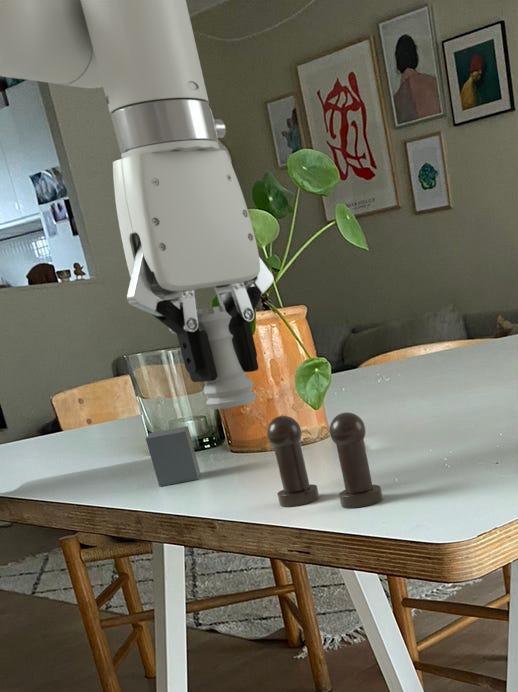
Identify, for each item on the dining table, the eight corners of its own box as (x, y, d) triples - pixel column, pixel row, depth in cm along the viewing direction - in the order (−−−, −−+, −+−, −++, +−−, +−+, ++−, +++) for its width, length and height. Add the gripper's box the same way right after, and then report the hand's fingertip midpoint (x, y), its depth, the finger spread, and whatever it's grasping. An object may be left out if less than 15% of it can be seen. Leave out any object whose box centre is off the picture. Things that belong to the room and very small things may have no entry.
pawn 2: (338, 510, 74) (318, 419, 71) (345, 499, 77) (326, 412, 74) (379, 504, 74) (362, 413, 71) (385, 494, 77) (368, 406, 74)
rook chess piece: (242, 406, 78) (218, 306, 75) (196, 412, 79) (171, 314, 76) (267, 397, 82) (245, 301, 79) (223, 402, 83) (200, 308, 80)
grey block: (159, 486, 96) (145, 438, 94) (162, 479, 99) (149, 433, 97) (198, 479, 96) (185, 431, 94) (200, 472, 100) (187, 426, 98)
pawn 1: (275, 508, 78) (255, 422, 75) (284, 498, 81) (265, 415, 78) (315, 503, 77) (296, 416, 75) (322, 493, 81) (304, 410, 78)
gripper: (228, 143, 81) (277, 360, 87) (44, 149, 70) (116, 396, 77) (280, 125, 76) (327, 357, 83) (90, 128, 65) (162, 395, 72)
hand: (225, 373), depth 80 cm, fingers closed on rook chess piece, 3 cm apart
